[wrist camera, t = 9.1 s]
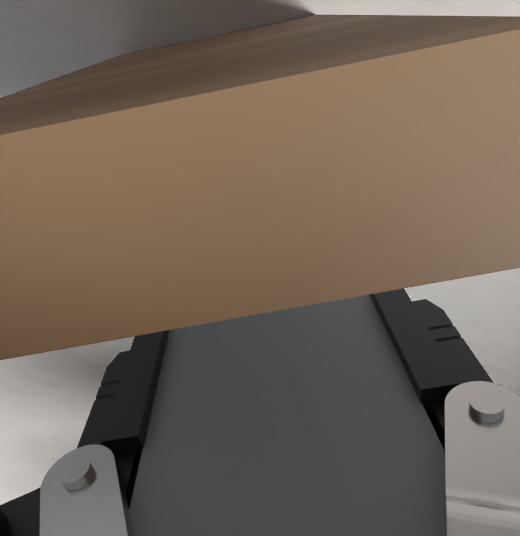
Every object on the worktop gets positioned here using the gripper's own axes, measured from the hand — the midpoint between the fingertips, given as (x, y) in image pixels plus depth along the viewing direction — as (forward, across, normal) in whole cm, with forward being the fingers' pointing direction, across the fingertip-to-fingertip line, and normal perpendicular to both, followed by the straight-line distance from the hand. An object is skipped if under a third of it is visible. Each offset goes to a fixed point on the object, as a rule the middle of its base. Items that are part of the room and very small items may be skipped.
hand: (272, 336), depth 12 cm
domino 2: (+2, 0, 0) cm, 2 cm away
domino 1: (+3, 0, -6) cm, 7 cm away
